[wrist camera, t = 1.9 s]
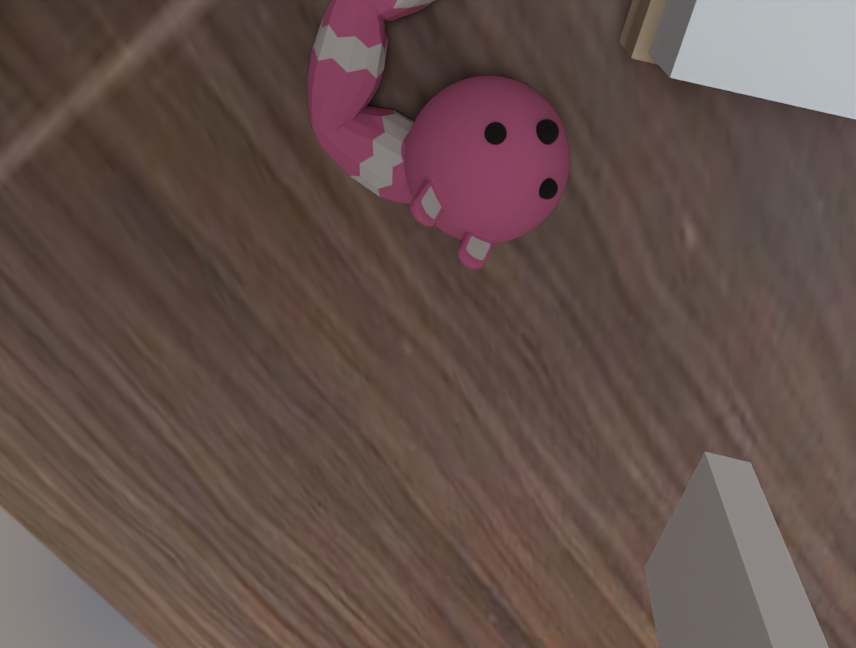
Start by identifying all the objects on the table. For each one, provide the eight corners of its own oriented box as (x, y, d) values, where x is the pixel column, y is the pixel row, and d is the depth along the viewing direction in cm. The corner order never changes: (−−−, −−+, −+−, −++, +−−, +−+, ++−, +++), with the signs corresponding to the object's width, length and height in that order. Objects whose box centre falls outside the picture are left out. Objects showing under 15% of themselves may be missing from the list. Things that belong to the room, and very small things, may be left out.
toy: (657, 81, 29) (575, 277, 25) (502, 157, 36) (416, 320, 32) (462, -168, 25) (317, 15, 20) (329, -26, 32) (198, 134, 27)
